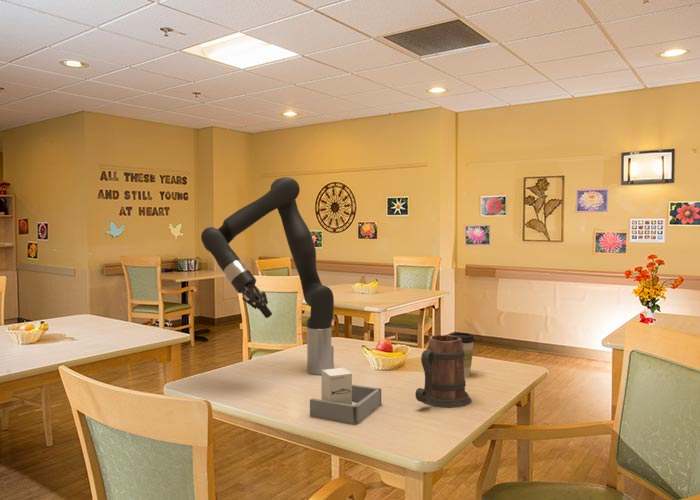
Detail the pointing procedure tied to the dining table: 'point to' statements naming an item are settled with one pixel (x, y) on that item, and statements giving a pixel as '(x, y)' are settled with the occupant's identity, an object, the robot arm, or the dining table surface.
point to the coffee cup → (466, 350)
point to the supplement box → (337, 385)
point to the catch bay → (348, 406)
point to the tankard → (444, 373)
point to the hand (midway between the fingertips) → (269, 316)
